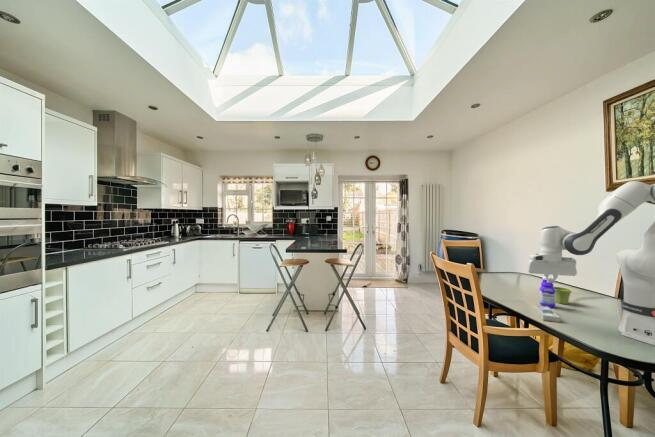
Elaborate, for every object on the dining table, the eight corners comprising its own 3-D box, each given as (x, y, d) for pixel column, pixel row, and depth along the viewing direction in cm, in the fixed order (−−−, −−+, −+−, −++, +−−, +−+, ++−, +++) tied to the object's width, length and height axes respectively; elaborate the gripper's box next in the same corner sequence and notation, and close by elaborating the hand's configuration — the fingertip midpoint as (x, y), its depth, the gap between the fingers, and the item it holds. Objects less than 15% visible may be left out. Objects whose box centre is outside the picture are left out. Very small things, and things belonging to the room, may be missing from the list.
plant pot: (563, 300, 166) (563, 286, 166) (576, 305, 157) (576, 291, 156) (547, 300, 167) (547, 286, 167) (559, 305, 158) (559, 291, 157)
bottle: (540, 306, 155) (540, 277, 155) (538, 303, 160) (538, 275, 160) (556, 308, 152) (556, 279, 152) (553, 305, 157) (553, 276, 157)
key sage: (543, 315, 140) (543, 312, 140) (552, 316, 139) (552, 313, 139) (546, 318, 137) (546, 315, 137) (555, 319, 135) (555, 316, 135)
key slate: (540, 309, 145) (540, 306, 145) (549, 310, 143) (549, 307, 143) (542, 312, 141) (542, 309, 141) (551, 313, 140) (551, 310, 140)
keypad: (533, 309, 151) (533, 304, 151) (548, 311, 148) (548, 306, 148) (543, 320, 136) (543, 315, 136) (560, 322, 133) (560, 317, 133)
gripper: (573, 256, 136) (573, 283, 136) (525, 255, 144) (525, 279, 145) (579, 258, 130) (579, 286, 131) (529, 256, 139) (529, 282, 139)
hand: (550, 282), depth 138 cm, fingers closed
